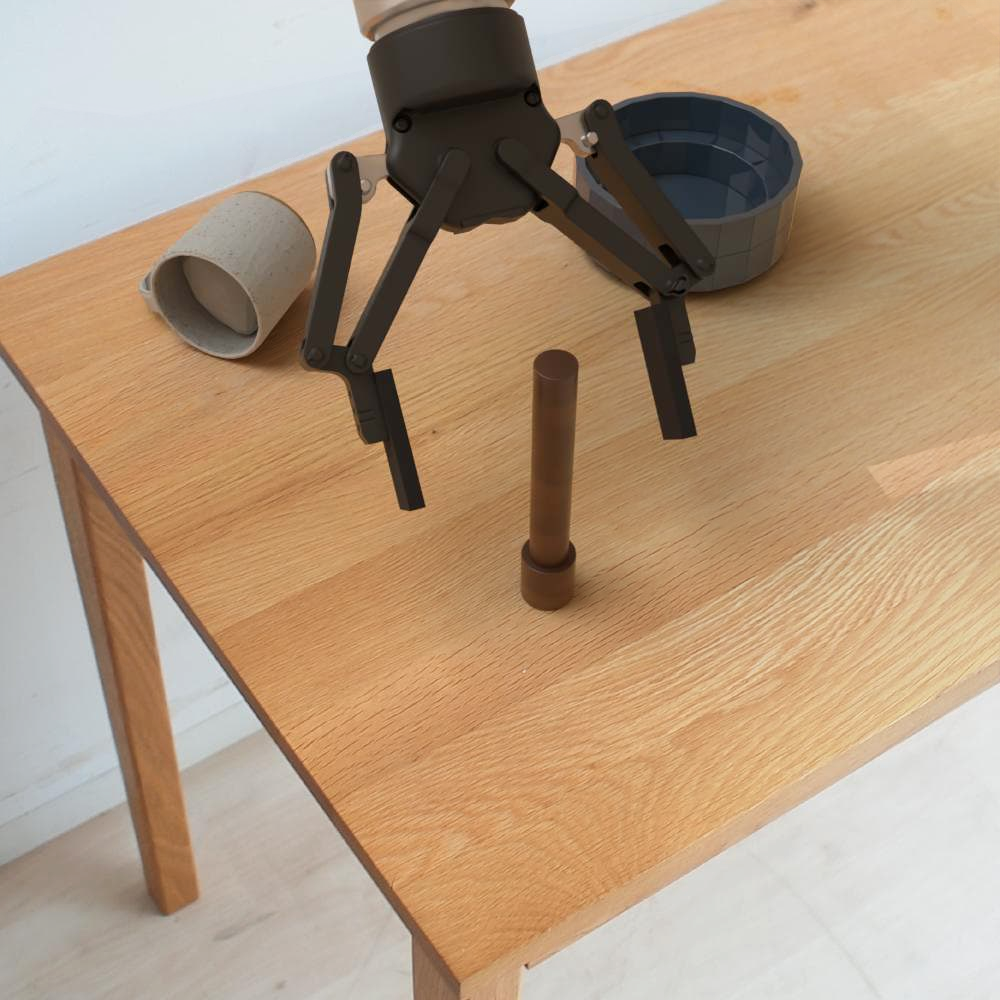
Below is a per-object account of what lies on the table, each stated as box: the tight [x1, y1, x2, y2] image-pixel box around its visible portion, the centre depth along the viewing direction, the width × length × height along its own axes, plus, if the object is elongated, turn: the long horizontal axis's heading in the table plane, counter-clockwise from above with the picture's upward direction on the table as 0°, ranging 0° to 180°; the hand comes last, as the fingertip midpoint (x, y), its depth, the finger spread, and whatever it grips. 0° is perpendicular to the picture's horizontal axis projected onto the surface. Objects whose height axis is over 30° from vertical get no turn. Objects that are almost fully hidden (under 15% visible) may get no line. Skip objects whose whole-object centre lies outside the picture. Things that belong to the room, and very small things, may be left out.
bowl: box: [571, 91, 804, 293], centre depth 93 cm, size 14×14×6 cm
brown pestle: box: [520, 348, 580, 611], centre depth 69 cm, size 3×3×16 cm
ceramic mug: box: [138, 190, 317, 360], centre depth 87 cm, size 11×8×8 cm
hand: (549, 473), depth 69 cm, fingers open, 13 cm apart
